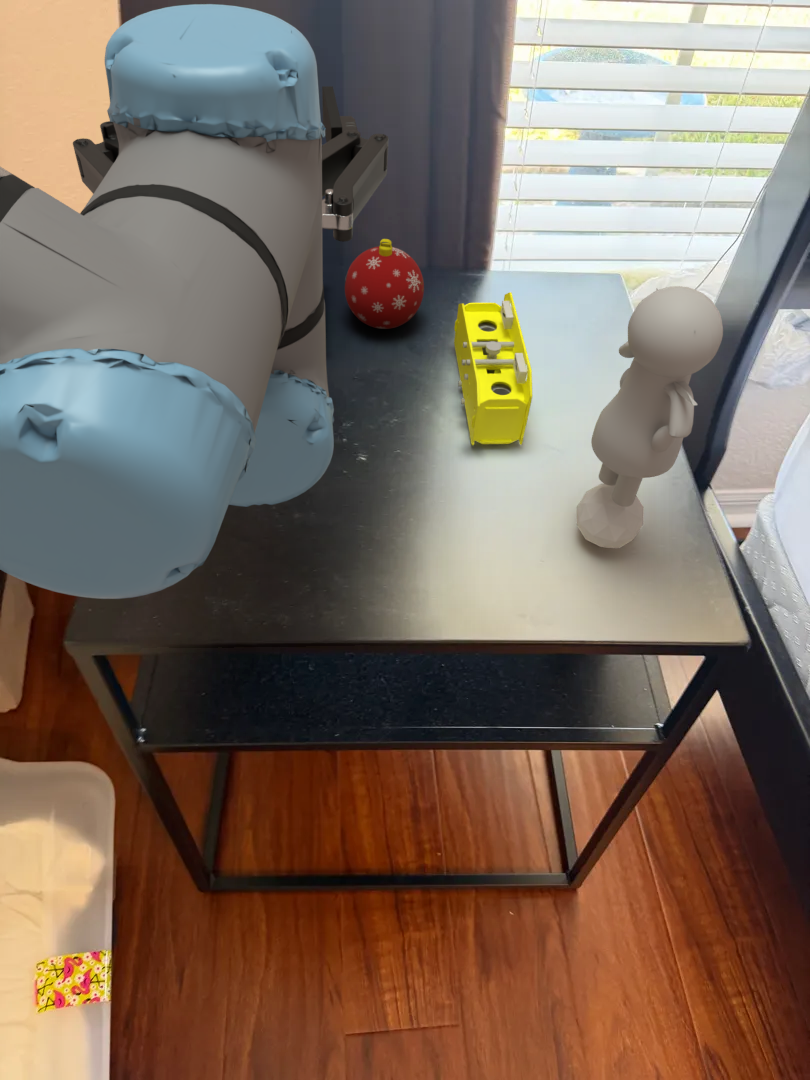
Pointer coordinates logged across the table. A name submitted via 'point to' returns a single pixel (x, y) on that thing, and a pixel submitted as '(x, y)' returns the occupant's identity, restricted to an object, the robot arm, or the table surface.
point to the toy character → (648, 408)
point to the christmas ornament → (384, 286)
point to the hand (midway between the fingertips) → (233, 106)
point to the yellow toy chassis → (493, 371)
